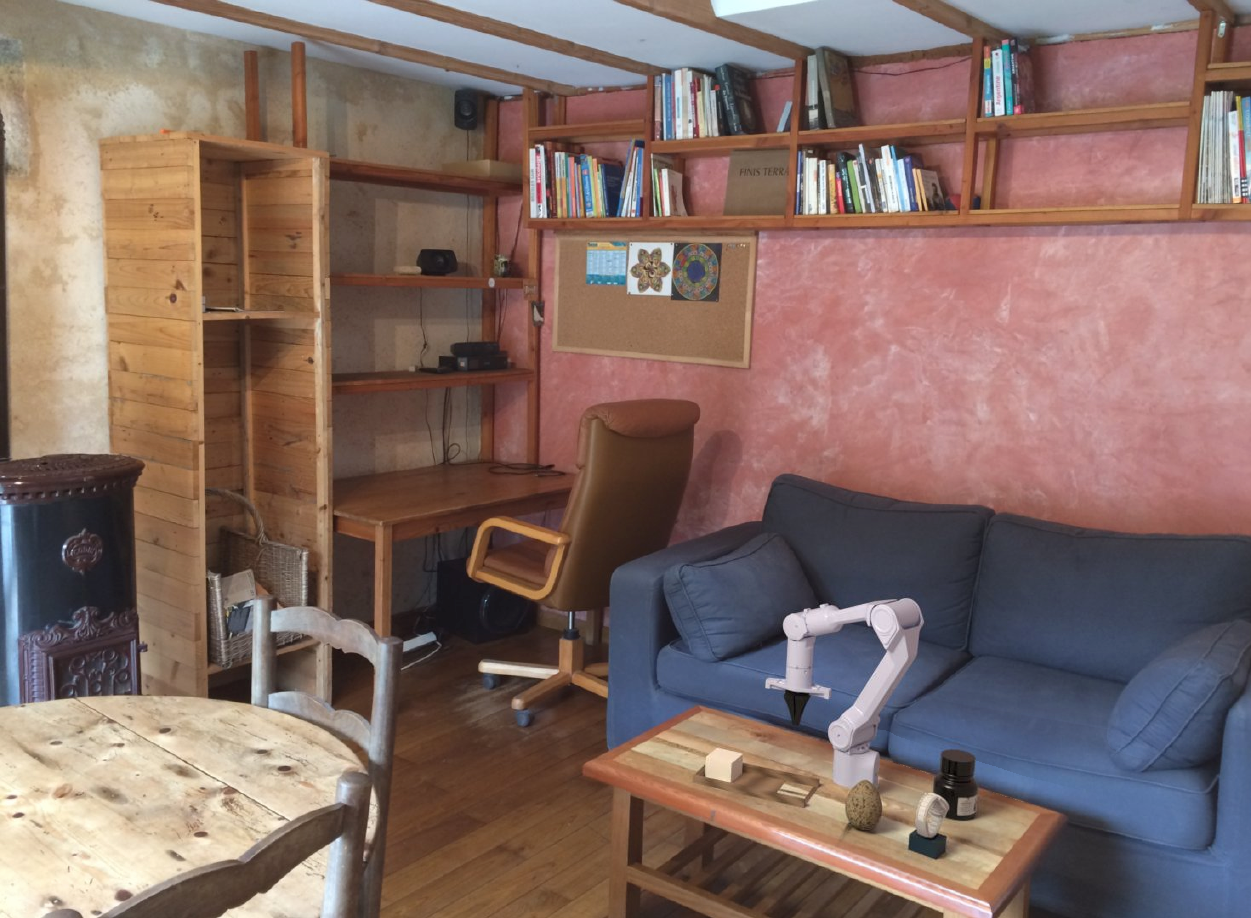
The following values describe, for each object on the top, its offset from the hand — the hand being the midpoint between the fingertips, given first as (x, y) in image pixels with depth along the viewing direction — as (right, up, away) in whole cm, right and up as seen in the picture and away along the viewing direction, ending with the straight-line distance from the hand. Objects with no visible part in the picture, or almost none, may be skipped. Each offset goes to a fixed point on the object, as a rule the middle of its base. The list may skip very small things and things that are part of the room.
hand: (796, 723), depth 246 cm
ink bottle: (+29, -13, -20) cm, 38 cm away
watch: (+19, -15, -37) cm, 44 cm away
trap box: (-11, -11, -14) cm, 21 cm away
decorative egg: (+9, -14, -29) cm, 33 cm away
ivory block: (-17, -9, -10) cm, 22 cm away
